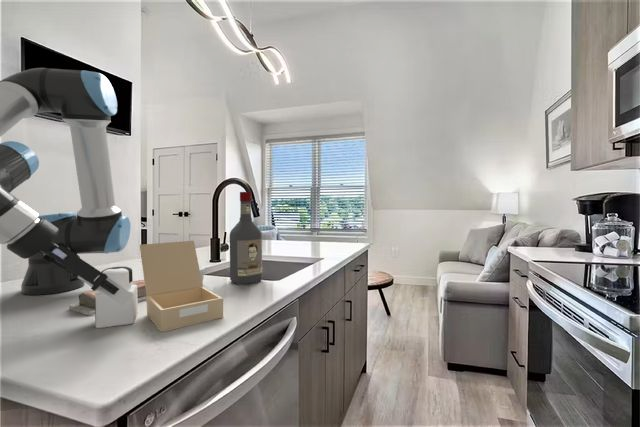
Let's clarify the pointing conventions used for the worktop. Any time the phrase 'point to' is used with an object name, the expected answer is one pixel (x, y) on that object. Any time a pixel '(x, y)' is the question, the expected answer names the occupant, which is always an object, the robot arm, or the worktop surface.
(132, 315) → the medicine bottle
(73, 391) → the worktop surface
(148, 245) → the mailer
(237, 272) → the liquor
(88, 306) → the packaged product
